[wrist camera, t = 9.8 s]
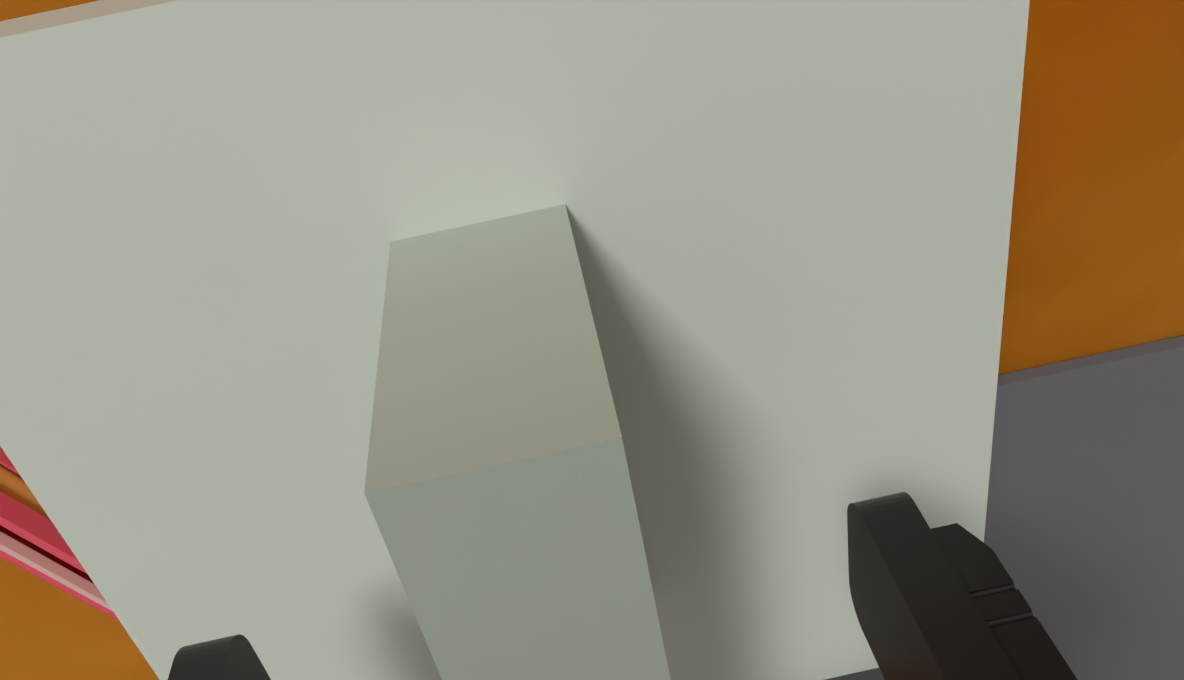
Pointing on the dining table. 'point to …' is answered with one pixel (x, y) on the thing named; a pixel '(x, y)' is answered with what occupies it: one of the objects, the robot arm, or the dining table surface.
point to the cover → (502, 319)
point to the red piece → (40, 541)
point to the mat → (1094, 507)
